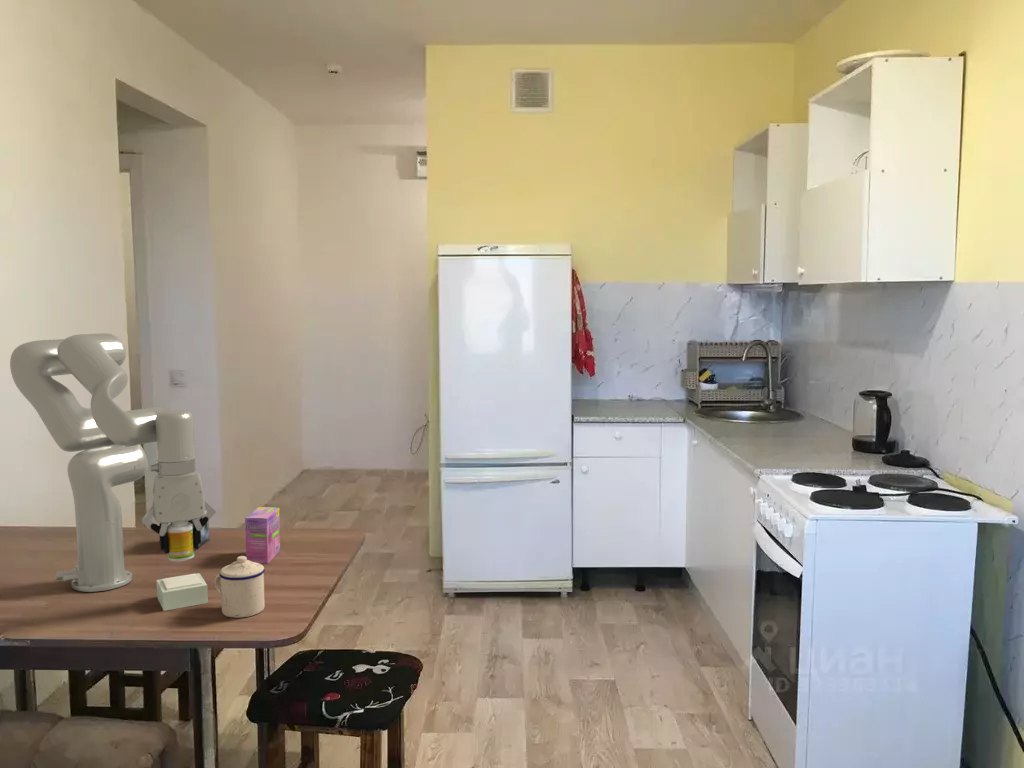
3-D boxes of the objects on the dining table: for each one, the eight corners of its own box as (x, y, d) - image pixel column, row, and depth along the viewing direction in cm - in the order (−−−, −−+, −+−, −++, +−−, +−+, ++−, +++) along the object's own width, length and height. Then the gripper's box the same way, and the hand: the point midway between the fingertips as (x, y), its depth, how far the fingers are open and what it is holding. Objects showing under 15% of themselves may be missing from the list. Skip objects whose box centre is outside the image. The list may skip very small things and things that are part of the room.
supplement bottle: (196, 559, 179) (194, 515, 178) (170, 563, 177) (167, 519, 176) (192, 552, 184) (190, 510, 183) (166, 556, 181) (163, 513, 180)
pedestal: (163, 610, 175) (162, 590, 175) (157, 597, 183) (156, 578, 182) (208, 602, 180) (207, 583, 179) (200, 590, 187) (199, 571, 187)
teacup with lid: (275, 606, 178) (273, 553, 176) (244, 621, 170) (242, 566, 168) (232, 598, 183) (230, 546, 182) (200, 612, 175) (198, 558, 173)
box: (268, 564, 206) (267, 517, 205) (245, 564, 206) (244, 517, 205) (281, 551, 216) (279, 507, 215) (259, 551, 216) (257, 506, 215)
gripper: (135, 475, 171) (140, 561, 172) (221, 466, 179) (225, 547, 181) (131, 469, 177) (135, 551, 179) (214, 460, 186) (218, 539, 188)
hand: (180, 549), depth 180 cm, fingers closed on supplement bottle, 5 cm apart
